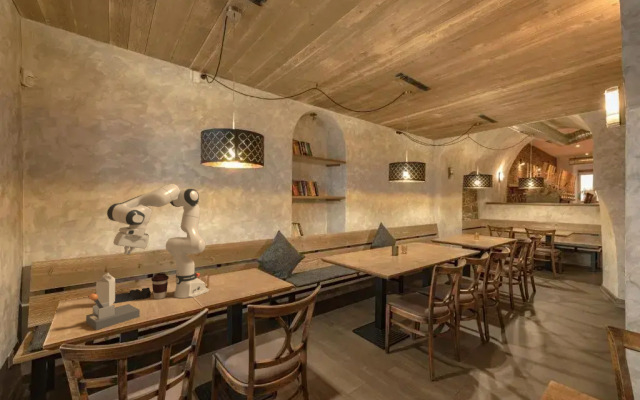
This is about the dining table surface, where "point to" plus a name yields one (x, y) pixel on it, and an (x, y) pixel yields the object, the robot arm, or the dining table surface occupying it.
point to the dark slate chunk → (132, 295)
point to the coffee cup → (160, 285)
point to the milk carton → (106, 289)
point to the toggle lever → (95, 300)
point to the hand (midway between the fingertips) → (126, 254)
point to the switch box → (111, 315)
